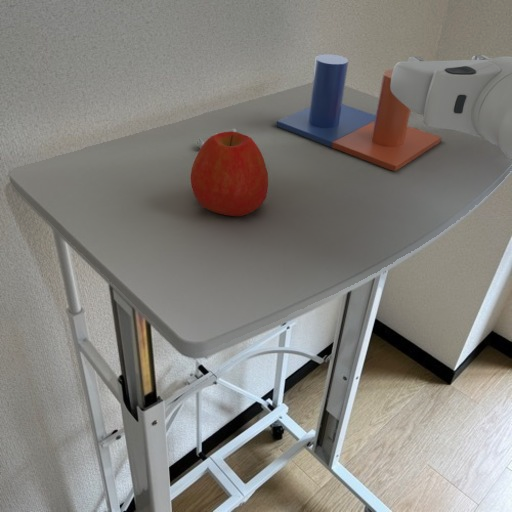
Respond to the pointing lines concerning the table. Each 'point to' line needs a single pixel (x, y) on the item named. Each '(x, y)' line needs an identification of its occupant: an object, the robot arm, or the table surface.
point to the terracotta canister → (390, 116)
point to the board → (361, 137)
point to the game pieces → (200, 142)
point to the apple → (229, 175)
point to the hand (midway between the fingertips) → (444, 61)
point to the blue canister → (327, 90)
